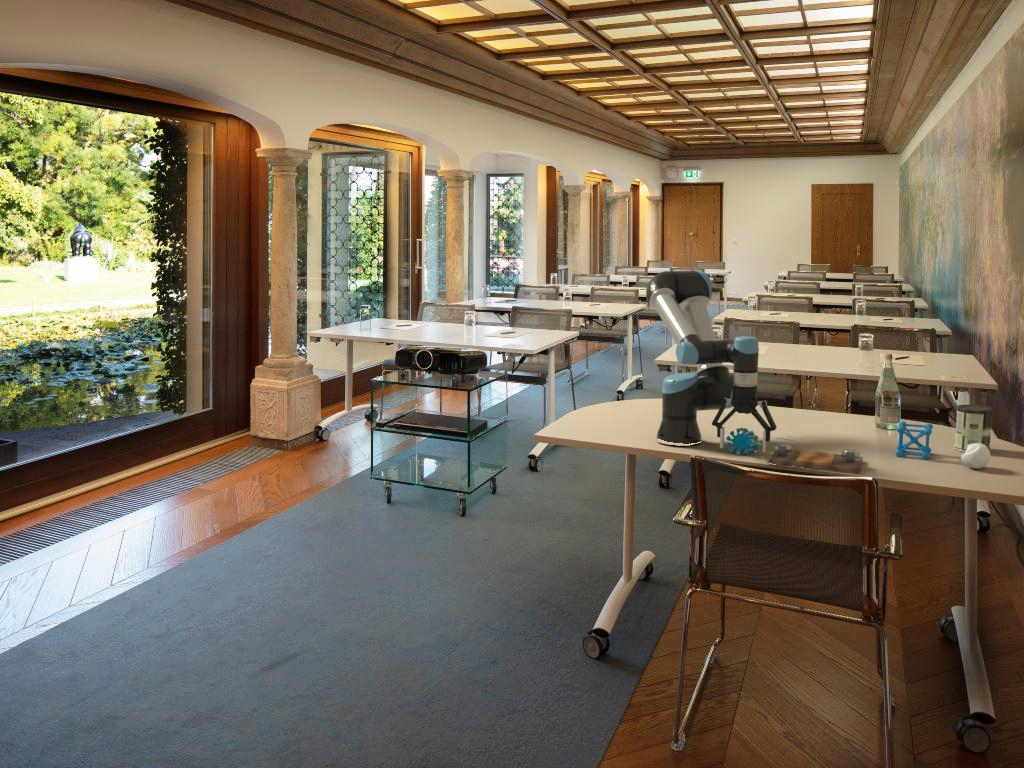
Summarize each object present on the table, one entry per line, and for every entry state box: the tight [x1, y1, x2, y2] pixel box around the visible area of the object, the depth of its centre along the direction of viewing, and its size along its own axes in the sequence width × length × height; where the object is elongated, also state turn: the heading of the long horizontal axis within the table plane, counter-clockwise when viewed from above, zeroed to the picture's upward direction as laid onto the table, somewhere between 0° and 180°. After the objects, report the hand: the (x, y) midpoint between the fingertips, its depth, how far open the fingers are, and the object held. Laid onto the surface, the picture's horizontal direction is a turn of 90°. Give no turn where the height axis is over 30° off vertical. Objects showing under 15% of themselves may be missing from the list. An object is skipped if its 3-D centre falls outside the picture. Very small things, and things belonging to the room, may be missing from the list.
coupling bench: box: [768, 449, 864, 474], centre depth 266 cm, size 26×15×2 cm, turn 64°
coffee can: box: [954, 404, 994, 453], centre depth 278 cm, size 10×10×14 cm
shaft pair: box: [773, 443, 861, 464], centre depth 265 cm, size 25×4×3 cm, turn 64°
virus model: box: [725, 427, 762, 455], centre depth 280 cm, size 11×6×10 cm
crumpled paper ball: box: [960, 443, 991, 470], centre depth 257 cm, size 8×8×8 cm
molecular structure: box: [894, 420, 934, 460], centre depth 273 cm, size 10×10×10 cm
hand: (742, 449), depth 279 cm, fingers open, 13 cm apart
